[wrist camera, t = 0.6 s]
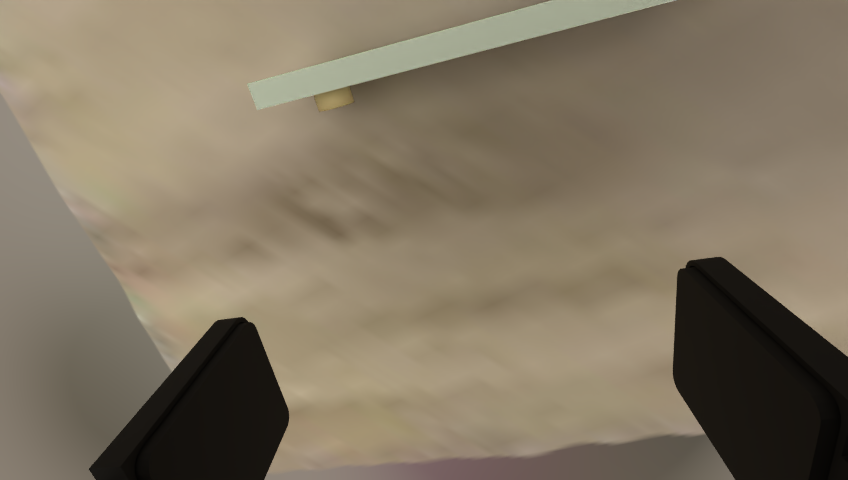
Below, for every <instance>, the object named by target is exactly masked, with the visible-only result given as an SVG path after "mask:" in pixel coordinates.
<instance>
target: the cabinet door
mask: <svg viewBox="0 0 848 480" xmlns="http://www.w3.org/2000/svg"><path fill="white" fill-rule="evenodd" d="M672 1H676V0H551V1H547V2H544V3H540V4H536V5H533V6H529V7H525V8H522V9H518V10H514V11H511V12H507V13H503V14H500V15H496V16H493V17H489V18H485V19H482V20H478V21H474V22H471V23H467V24H463V25H460V26H456V27H452V28H449V29H445V30H442V31H438V32H434V33H431V34H427V35H423V36H420V37H416V38H412V39H409V40H405V41H401V42H398V43H394V44H391V45H387V46H383V47H380V48H376V49H372V50H369V51H365V52H361V53H358V54H354V55H350V56H347V57H343V58H339V59H336V60H332V61H329V62H325V63H321V64H318V65H314V66H310V67H307V68H303V69H299V70H296V71H292V72H288V73H285V74H281V75H278V76H274V77H270V78H267V79H263V80H259V81H256V82H252V83H248V84H247V85H248V87H249V90H250V92H251V95H252V98H253V100H254V103H255V105H256V108H257V110H259V109H263V108H267V107H271V106H275V105H278V104H282V103H286V102H290V101H294V100H297V99H301V98H305V97H309V96H313V95H314V98H315V101H316V104H317V107H318V110H319V112H320V111H326V110H330V109H334V108H338V107H341V106H344V105H348V104H350V103H353V102H354V100H353V96H352V93H351V90H350V86H351V85H355V84H359V83H362V82H366V81H370V80H374V79H378V78H382V77H385V76H389V75H393V74H397V73H401V72H404V71H408V70H412V69H416V68H420V67H424V66H427V65H431V64H435V63H439V62H443V61H446V60H450V59H454V58H458V57H462V56H466V55H469V54H473V53H477V52H481V51H485V50H489V49H492V48H496V47H500V46H504V45H508V44H511V43H515V42H519V41H523V40H527V39H531V38H534V37H538V36H542V35H546V34H550V33H553V32H557V31H561V30H565V29H569V28H573V27H576V26H580V25H584V24H588V23H592V22H596V21H599V20H603V19H607V18H611V17H615V16H618V15H622V14H626V13H630V12H634V11H638V10H641V9H645V8H649V7H653V6H657V5H660V4H664V3H668V2H672Z"/></svg>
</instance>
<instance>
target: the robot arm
mask: <svg viewBox="0 0 848 480" xmlns="http://www.w3.org/2000/svg"><path fill="white" fill-rule="evenodd" d="M673 378H674V382H675V385H676V387H677V389H678V391H679V393H680V394H681V396H682V397H683V399H684V401H685V402H686V404H687V405H688V407H689V408H690V410H691V411H692V413H693V415H694V416H695V418H696V419H697V421H698V422H699V424H700V425H701V427H702V429H703V430H704V432H705V433H706V435H707V436H708V438H709V439H710V441H711V443H712V444H713V446H714V447H715V449H716V450H717V452H718V453H719V455H720V457H721V458H722V459H723V461H724V463H725V464H726V466H727V467H728V469H729V471H730V472H731V474H732V475H733V477H734V478H735V480H848V357H847V356H846V355H845V354H843V353H842V352H841V351H840V350H838V349H837V348H836V347H835V346H833V345H832V344H831V343H830V342H828V341H827V340H826V339H825V338H823V337H822V336H821V335H820V334H818V333H817V332H816V331H815V330H813V329H812V328H811V327H810V326H808V325H807V324H806V323H804V322H803V321H802V320H801V319H799V318H798V317H797V316H796V315H794V314H793V313H792V312H791V311H789V310H788V309H787V308H786V307H784V306H783V305H782V304H781V303H779V302H778V301H777V300H776V299H774V298H773V297H772V296H771V295H769V294H768V293H767V292H766V291H764V290H763V289H762V288H761V287H759V286H758V285H757V284H756V283H754V282H753V281H752V280H751V279H749V278H748V277H747V276H746V275H744V274H743V273H742V272H741V271H739V270H738V269H737V268H736V267H734V266H733V265H732V264H731V263H729V262H728V261H727V260H726V259H724V258H722V257H714V258H706V259H698V260H691V261H689V262H688V263H687V265H686V268H683V269H680V270H679V271H678V276H677V294H676V315H675V336H674V357H673ZM288 422H289V411H288V408H287V405H286V403H285V400H284V397H283V395H282V392H281V390H280V387H279V385H278V382H277V380H276V377H275V375H274V372H273V370H272V367H271V364H270V362H269V359H268V357H267V354H266V352H265V349H264V347H263V344H262V342H261V339H260V337H259V334H258V332H257V329H256V327H255V325H254V324H253V323H251V322H248V321H247V320H246V319H245V318H243V317H239V318H231V319H223V320H217V321H216V322H215V323H214V324H213V325H212V326H211V327H210V329H209V330H208V331H207V332H206V333H205V334H204V336H203V337H202V338H201V339H200V340H199V341H198V343H197V344H196V345H195V346H194V347H193V348H192V349H191V351H190V352H189V353H188V354H187V355H186V356H185V358H184V359H183V360H182V361H181V362H180V363H179V365H178V366H177V367H176V368H175V369H174V370H173V372H172V373H171V374H170V375H169V376H168V378H167V379H166V380H165V381H164V382H163V383H162V385H161V386H160V387H159V388H158V389H157V390H156V391H155V393H154V394H153V395H152V396H151V397H150V398H149V400H148V401H147V402H146V403H145V404H144V405H143V407H142V408H141V409H140V410H139V411H138V412H137V414H136V415H135V416H134V417H133V418H132V419H131V421H130V422H129V423H128V424H127V425H126V426H125V428H124V429H123V430H122V431H121V432H120V433H119V435H118V436H117V437H116V438H115V439H114V440H113V441H112V443H111V444H110V445H109V446H108V447H107V449H106V450H105V451H104V452H103V453H102V454H101V456H100V457H99V458H98V459H97V460H96V461H95V462H94V464H93V465H92V466H91V467H90V468H89V470H90V472H91V473H92V475H93V476H94V478H95V479H96V480H264V479H265V476H266V474H267V472H268V470H269V467H270V465H271V463H272V460H273V458H274V456H275V453H276V451H277V449H278V447H279V444H280V442H281V440H282V437H283V435H284V433H285V431H286V428H287V426H288Z"/></svg>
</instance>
